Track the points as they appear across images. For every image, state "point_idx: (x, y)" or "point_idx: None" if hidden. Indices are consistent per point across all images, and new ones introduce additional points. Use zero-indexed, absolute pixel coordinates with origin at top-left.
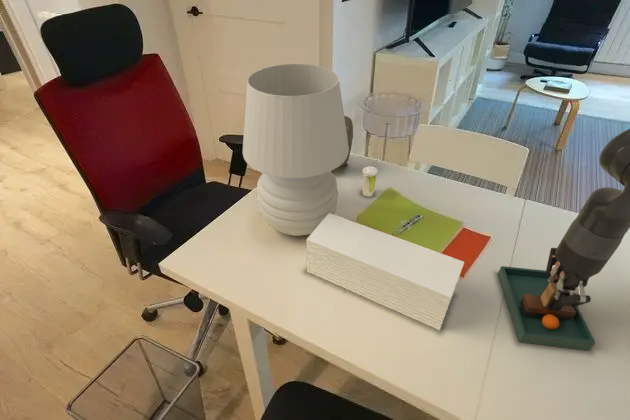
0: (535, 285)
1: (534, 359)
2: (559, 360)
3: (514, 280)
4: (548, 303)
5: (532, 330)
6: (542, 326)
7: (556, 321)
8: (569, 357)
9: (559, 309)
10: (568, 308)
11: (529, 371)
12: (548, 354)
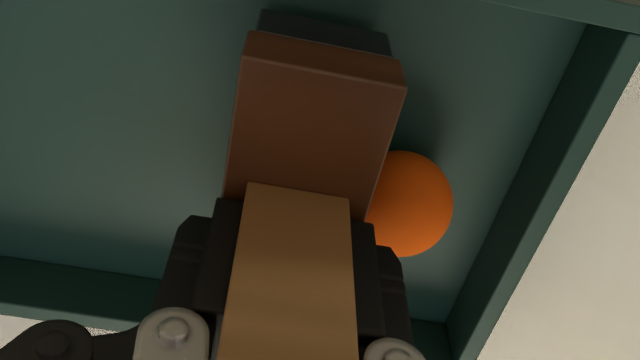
0: (20, 81)
1: (557, 295)
2: (605, 192)
3: (2, 199)
4: None
5: (411, 265)
6: None
7: (434, 224)
8: (609, 130)
9: (401, 281)
10: (354, 128)
11: (603, 335)
12: (553, 226)
